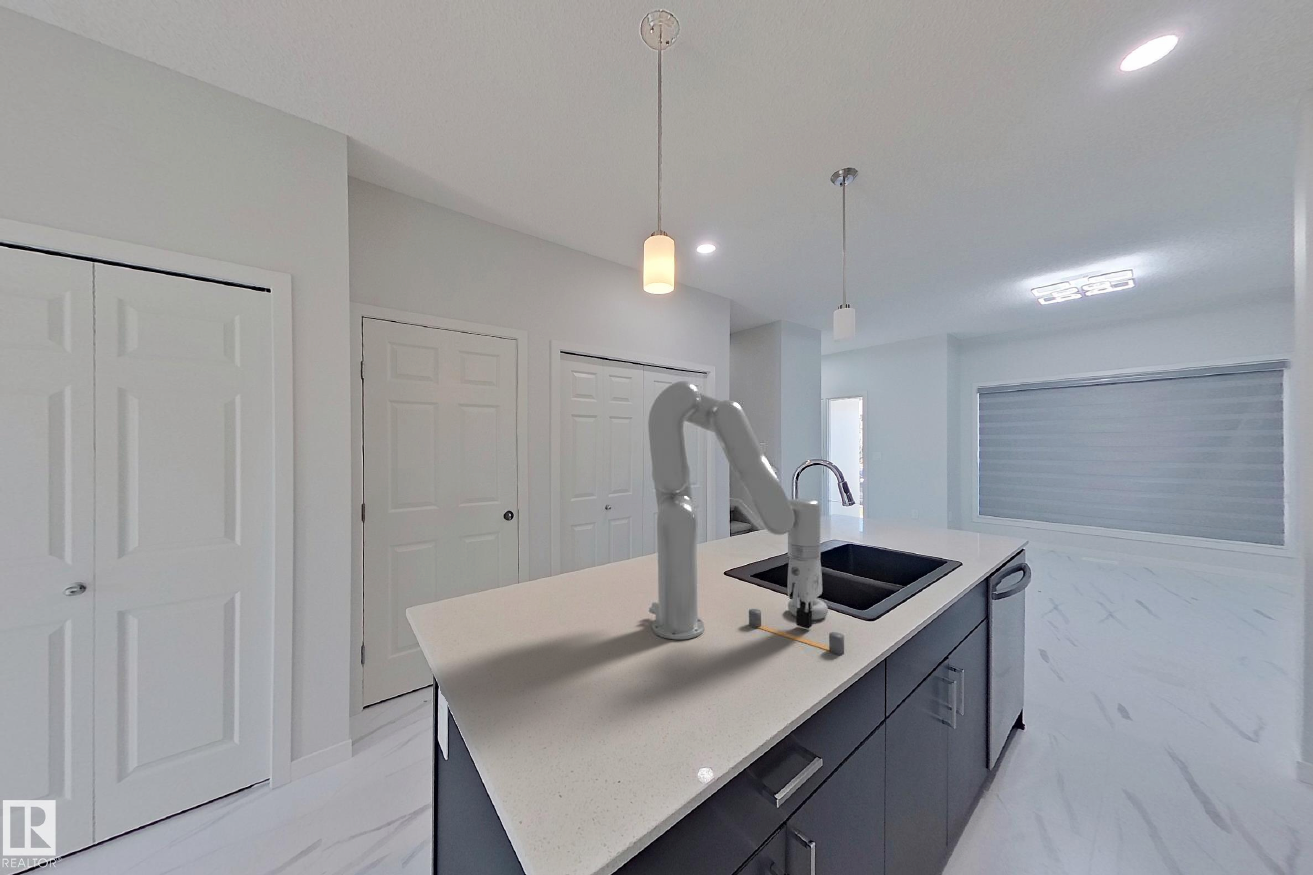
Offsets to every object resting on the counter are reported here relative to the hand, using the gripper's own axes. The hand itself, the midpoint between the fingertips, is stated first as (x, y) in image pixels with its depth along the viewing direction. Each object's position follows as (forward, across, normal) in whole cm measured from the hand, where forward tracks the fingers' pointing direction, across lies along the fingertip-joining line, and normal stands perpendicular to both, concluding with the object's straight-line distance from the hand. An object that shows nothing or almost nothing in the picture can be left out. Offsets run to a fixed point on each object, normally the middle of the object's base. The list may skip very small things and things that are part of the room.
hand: (804, 625), depth 108 cm
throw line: (+1, -6, 0) cm, 6 cm away
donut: (-1, +4, +1) cm, 4 cm away
